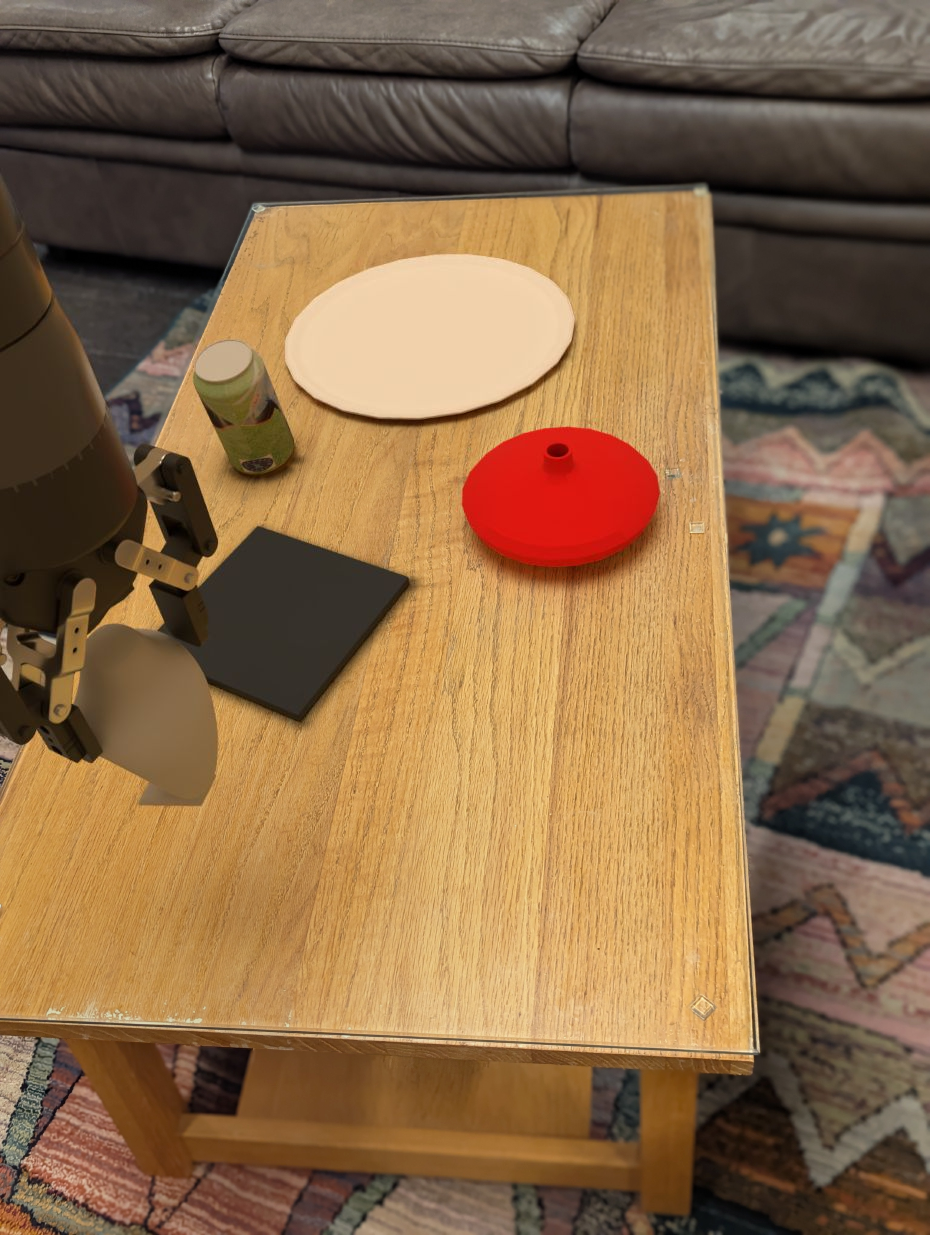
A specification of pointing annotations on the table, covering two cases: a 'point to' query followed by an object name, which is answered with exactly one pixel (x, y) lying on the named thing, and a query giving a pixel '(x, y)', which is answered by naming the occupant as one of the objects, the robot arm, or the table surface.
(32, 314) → the robot arm
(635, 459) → the red disc with nozzle
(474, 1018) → the table surface
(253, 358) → the beverage can
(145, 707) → the grey rounded body
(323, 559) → the mat
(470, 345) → the plate
